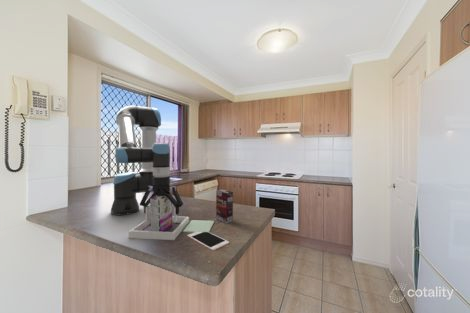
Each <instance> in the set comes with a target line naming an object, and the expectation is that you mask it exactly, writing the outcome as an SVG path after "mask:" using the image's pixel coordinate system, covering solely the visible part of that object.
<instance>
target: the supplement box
mask: <svg viewBox="0 0 470 313" xmlns="http://www.w3.org/2000/svg"><path fill="white" fill-rule="evenodd" d="M215 192H216V194H215V196H216V200H215V201H216V205H215V207H216V210H215V212H216V213H215V214H216V216H215V217H216V218H215V219H216V220H218V221H220V222H223V223H226V224H228V223H231V222H233V219H234V215H233V213H234V210H233V209H234V192H233V191H230V190H226V189H219V190H218V189H217V190H216V191H215Z"/></svg>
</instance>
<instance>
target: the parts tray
mask: <svg viewBox="0 0 470 313" xmlns="http://www.w3.org/2000/svg"><path fill="white" fill-rule="evenodd" d="M177 217H178V220H177V221H176V222H174V215H172V224H176V223H177V224H178V226H177V227H176V228H175V229H174V230H173V231H164V232H160V231H151V230H144V229H145V228H147V227H148V226H149V225H151V219H150V220H148V221H146V219H144V220H143V221H142V222H140V223H139V224H137V225H135V226H134V227H132V228H131V229H130V230H128V239H139V240H141V239H143V240H163V241H175V240H176V239H177V237H178V236H179V235H180V233H182V232H183V230H184V229H185V228H186V227H187V225H188V224H189V223H190V217H189V216H182V215H181V216H180V215H179V216H178V215H177Z"/></svg>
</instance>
